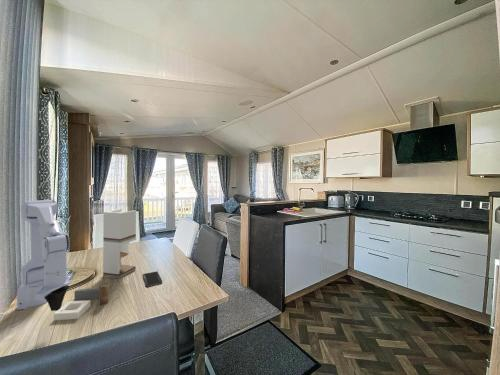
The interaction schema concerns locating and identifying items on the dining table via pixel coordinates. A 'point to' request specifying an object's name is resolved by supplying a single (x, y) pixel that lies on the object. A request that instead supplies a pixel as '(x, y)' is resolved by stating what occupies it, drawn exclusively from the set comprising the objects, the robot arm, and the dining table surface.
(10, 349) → the dining table surface
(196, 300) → the dining table surface
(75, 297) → the base board
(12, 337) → the dining table surface
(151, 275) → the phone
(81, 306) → the holed block
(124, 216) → the white tower
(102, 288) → the dowel
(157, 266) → the dining table surface
